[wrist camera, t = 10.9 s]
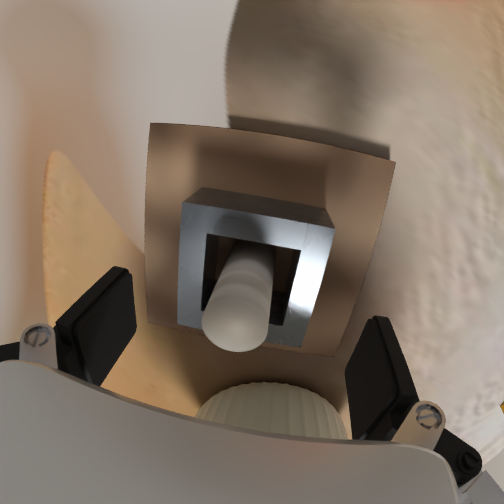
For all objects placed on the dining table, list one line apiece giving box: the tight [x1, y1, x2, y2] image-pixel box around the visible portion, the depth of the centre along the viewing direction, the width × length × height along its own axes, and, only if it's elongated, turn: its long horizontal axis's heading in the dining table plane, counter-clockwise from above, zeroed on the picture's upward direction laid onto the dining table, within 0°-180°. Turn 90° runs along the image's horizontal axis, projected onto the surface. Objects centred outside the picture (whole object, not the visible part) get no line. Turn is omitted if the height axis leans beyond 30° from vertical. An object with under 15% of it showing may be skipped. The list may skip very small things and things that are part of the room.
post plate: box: [145, 123, 396, 357], centre depth 15 cm, size 14×14×8 cm
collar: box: [177, 187, 335, 348], centre depth 16 cm, size 7×7×4 cm
